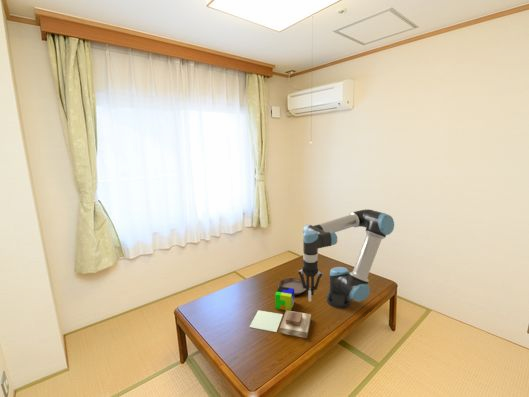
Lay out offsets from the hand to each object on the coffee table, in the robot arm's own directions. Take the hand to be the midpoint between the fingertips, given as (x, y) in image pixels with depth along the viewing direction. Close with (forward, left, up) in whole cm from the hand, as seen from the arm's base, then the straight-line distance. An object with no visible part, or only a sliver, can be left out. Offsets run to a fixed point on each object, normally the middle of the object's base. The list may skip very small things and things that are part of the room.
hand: (310, 299), depth 146 cm
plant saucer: (+17, -39, -18) cm, 47 cm away
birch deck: (+8, 0, -18) cm, 20 cm away
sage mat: (+25, 0, -18) cm, 31 cm away
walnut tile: (+9, 0, -14) cm, 17 cm away
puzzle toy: (+18, -18, -18) cm, 32 cm away
